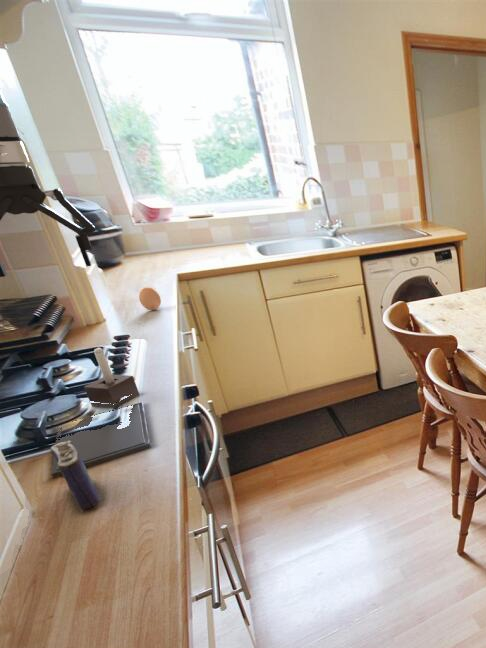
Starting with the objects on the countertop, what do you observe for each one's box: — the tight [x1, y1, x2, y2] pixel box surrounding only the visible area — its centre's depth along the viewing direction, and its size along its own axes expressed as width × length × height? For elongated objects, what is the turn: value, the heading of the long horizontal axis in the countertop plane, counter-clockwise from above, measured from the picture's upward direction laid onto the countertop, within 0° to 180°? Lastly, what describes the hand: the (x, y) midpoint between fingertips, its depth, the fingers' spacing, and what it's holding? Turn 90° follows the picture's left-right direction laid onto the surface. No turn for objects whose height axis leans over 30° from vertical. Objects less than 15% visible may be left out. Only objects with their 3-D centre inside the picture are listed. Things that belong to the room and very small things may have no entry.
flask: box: [50, 440, 101, 512], centre depth 75 cm, size 9×3×11 cm, turn 50°
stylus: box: [93, 347, 114, 384], centre depth 103 cm, size 2×2×14 cm
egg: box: [138, 286, 162, 311], centre depth 161 cm, size 6×6×8 cm
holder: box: [83, 373, 140, 409], centre depth 105 cm, size 6×6×5 cm
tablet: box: [50, 401, 152, 479], centre depth 92 cm, size 20×14×1 cm
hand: (47, 270), depth 100 cm, fingers open, 13 cm apart
